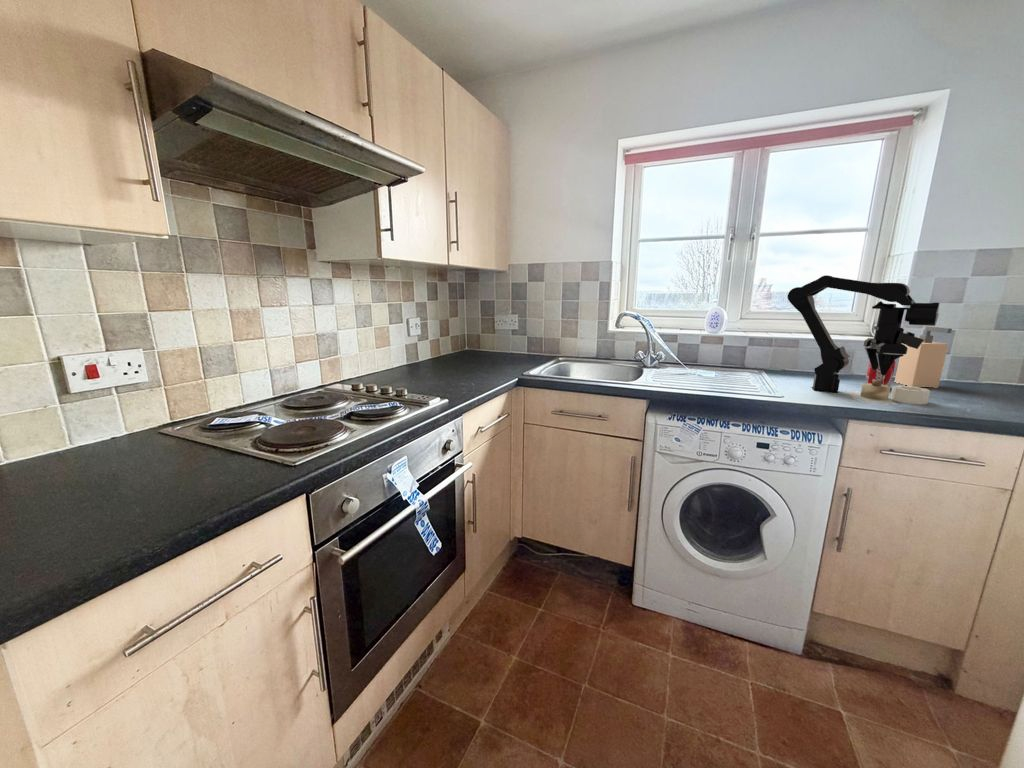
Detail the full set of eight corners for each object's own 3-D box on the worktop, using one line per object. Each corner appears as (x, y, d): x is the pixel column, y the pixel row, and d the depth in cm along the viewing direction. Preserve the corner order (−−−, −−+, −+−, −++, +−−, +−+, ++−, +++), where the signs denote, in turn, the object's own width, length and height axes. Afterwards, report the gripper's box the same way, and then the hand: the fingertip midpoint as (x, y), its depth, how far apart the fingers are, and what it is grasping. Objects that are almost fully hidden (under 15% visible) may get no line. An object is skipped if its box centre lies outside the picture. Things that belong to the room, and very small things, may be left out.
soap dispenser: (893, 382, 156) (906, 325, 151) (918, 383, 155) (931, 325, 150) (921, 390, 144) (936, 328, 139) (948, 390, 142) (964, 328, 138)
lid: (863, 398, 131) (866, 381, 129) (857, 393, 136) (861, 377, 135) (890, 401, 128) (894, 383, 126) (884, 396, 133) (887, 379, 132)
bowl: (895, 403, 127) (898, 389, 126) (887, 397, 133) (890, 384, 133) (930, 406, 123) (933, 392, 122) (920, 400, 130) (923, 387, 129)
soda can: (895, 390, 143) (902, 357, 141) (875, 390, 143) (882, 357, 141) (878, 385, 150) (884, 354, 147) (859, 385, 150) (865, 354, 148)
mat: (856, 401, 128) (857, 400, 128) (844, 391, 142) (845, 390, 142) (898, 406, 123) (898, 404, 123) (881, 394, 137) (882, 393, 137)
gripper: (936, 327, 115) (923, 380, 119) (911, 322, 131) (901, 369, 135) (885, 325, 120) (874, 376, 124) (867, 321, 136) (858, 366, 140)
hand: (878, 372), depth 130 cm, fingers open, 9 cm apart
